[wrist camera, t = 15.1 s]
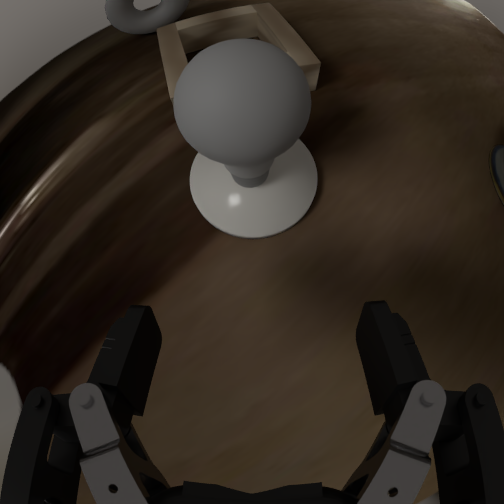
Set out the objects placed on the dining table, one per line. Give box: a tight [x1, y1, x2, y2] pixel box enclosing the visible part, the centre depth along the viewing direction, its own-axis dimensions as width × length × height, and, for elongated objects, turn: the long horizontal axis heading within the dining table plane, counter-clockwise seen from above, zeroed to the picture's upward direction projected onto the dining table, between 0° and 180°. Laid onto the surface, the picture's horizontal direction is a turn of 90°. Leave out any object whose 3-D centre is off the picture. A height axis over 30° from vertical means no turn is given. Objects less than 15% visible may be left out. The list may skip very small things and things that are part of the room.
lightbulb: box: [173, 38, 311, 188], centre depth 14 cm, size 6×6×11 cm
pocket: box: [156, 3, 321, 105], centre depth 21 cm, size 12×12×4 cm
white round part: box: [190, 139, 318, 239], centre depth 19 cm, size 9×9×1 cm
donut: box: [105, 0, 189, 34], centre depth 20 cm, size 10×3×10 cm, turn 106°
